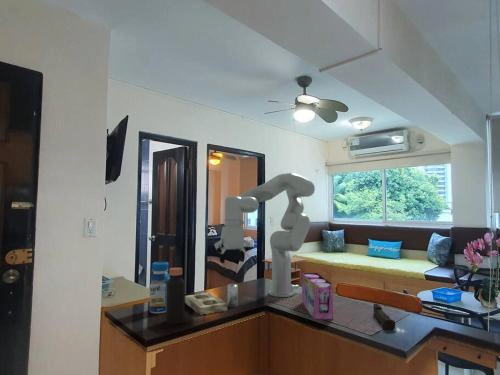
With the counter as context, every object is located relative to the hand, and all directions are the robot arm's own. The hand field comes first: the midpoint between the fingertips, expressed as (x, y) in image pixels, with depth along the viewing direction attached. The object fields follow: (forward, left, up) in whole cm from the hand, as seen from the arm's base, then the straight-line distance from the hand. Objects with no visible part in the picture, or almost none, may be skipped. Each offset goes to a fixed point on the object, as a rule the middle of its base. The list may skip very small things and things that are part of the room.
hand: (232, 262), depth 142 cm
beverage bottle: (+30, -9, -19) cm, 37 cm away
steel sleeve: (0, 0, -19) cm, 19 cm away
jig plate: (+11, -5, -19) cm, 22 cm away
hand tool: (-41, +45, -20) cm, 64 cm away
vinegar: (+28, +7, -19) cm, 35 cm away
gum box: (-29, +23, -20) cm, 42 cm away
